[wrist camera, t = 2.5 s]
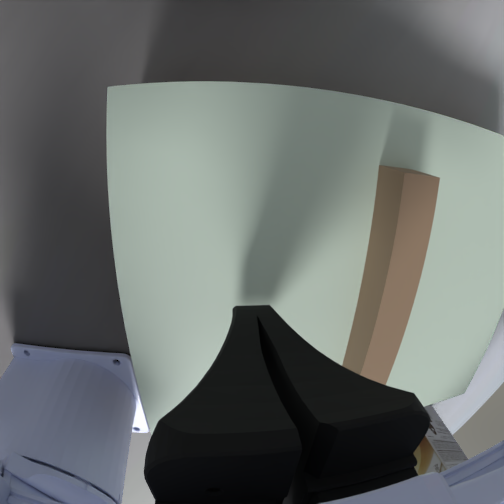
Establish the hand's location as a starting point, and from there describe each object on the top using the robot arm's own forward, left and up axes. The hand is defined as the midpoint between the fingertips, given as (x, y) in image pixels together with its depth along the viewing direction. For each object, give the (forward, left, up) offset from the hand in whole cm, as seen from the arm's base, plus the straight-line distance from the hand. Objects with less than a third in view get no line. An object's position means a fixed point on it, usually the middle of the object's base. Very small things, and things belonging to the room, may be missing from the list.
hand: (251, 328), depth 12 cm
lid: (+5, 0, -2) cm, 6 cm away
